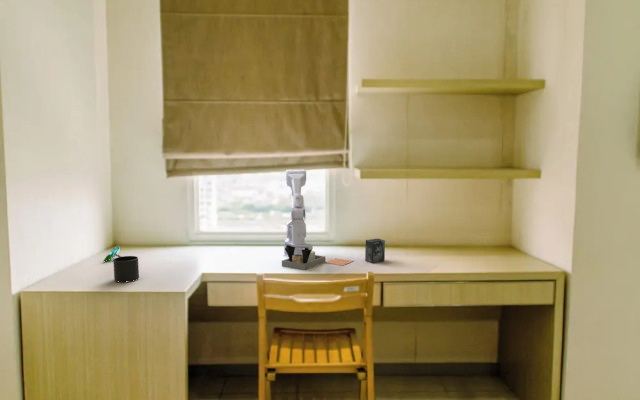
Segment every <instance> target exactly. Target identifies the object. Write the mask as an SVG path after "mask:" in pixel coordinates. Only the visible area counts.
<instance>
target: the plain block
mask: <svg viewBox="0 0 640 400" xmlns="http://www.w3.org/2000/svg"><path fill="white" fill-rule="evenodd" d="M315 255H316V251H315V250H312V251H311V253H310V255H309V258H308V262H310V261H313V260H315Z"/></svg>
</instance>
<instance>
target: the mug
mask: <svg viewBox="0 0 640 400" xmlns="http://www.w3.org/2000/svg"><path fill="white" fill-rule="evenodd" d="M112 262H113V277H114V278H113V279H114V282H115V281H119V282H126V281H133V280H136V279H138V278H140V271H139V257H138V256H134V255H125V256H123V255H122V256H121V257H118V256H117V257H116V258H113V261H112ZM138 280H139V279H138ZM136 281H137V280H136ZM119 282H118V283H119ZM133 282H134V281H133Z"/></svg>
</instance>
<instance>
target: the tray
mask: <svg viewBox="0 0 640 400" xmlns="http://www.w3.org/2000/svg"><path fill="white" fill-rule="evenodd" d="M300 255H302V254H300ZM325 262H326V256H323V255H316V254H315V260H313V261H310V262H307V263H304V264H303V263H296V262H290V260H289V257H288V258H287V259H283V260H281V267H283V268H290V269H296V270H302V271H306V270H308V269H311V268H314V267H317V266H318V265H321V264H323V263H324V264H325Z"/></svg>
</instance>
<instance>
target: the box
mask: <svg viewBox="0 0 640 400" xmlns="http://www.w3.org/2000/svg"><path fill="white" fill-rule="evenodd" d="M385 248H386V240H385V239H382V238H371V239H370V238H369V239H365V256H364V257H365V258H364V261H365V262H367V263H370V264H375V263H380V262H381V263H382V262H385V261H386V260H385V255H386V253H385V252H386V250H385Z"/></svg>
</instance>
